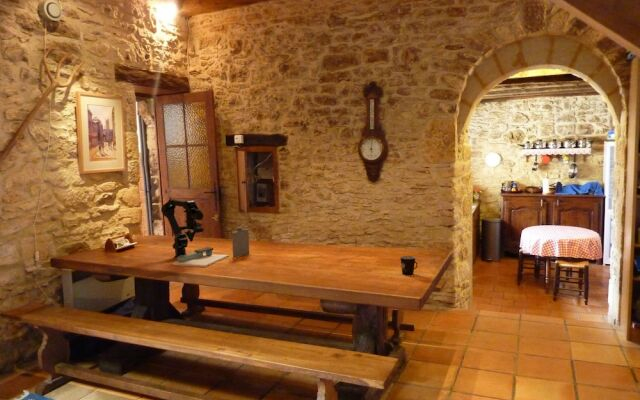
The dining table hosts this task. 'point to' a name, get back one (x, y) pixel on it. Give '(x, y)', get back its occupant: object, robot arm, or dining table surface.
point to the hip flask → (240, 242)
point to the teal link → (189, 256)
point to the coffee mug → (408, 265)
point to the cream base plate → (202, 260)
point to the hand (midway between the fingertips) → (191, 241)
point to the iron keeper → (205, 250)
